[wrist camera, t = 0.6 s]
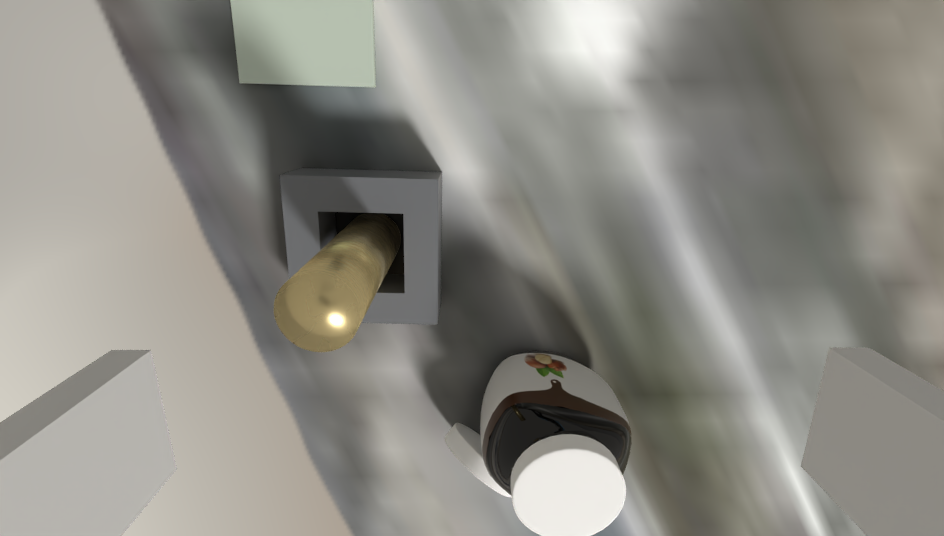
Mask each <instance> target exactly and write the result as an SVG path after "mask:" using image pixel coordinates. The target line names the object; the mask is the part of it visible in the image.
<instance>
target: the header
mask: <svg viewBox="0 0 944 536" xmlns="http://www.w3.org/2000/svg"><path fill="white" fill-rule="evenodd" d="M279 176H280V187H281V198H282V209H283V219H284V230H285V241H286V251H287V262H288V273H289V279H290V278H291V277H292V276H293V275H294V274H295V273H297V272H298V271H299V270H300V269H301V268H302V267H303V266H304V265H305V264H306V263H307V262H308V261H309V260H310V259H312V258H313V257H314V256H315V255H316V254H317V253H318V252H319V251H320V250H321V249H322V248H323V247H324V246H326V245H327V244H328V243H329V242H330V241H331V240H332V239H333V238H334V237H335V236H336V219H335V212H357V213H394V214H403V222H404V274H386V275H385V277H384V279H383V281H382V283H381V285H380V287H379V289H378V291H377V293H376V295H375V297H374V299H373V301H372V303H371V305H370V307H369V308H368V310H367V312H366V314H365V316H364V318H363V320H362V322H361V323H392V324H433V325H438V319H439V312H440V306H441V241H442V172H428V171H392V170H356V169H320V168H299V169H296V170H293V171H290V172H287V173H284V174H281V175H279Z"/></svg>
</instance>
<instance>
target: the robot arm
mask: <svg viewBox="0 0 944 536" xmlns="http://www.w3.org/2000/svg"><path fill="white" fill-rule="evenodd" d="M801 467H802V468H803V469H804V470H805V471H806V472H807V473H808V474H809V475H810V476H811V477H812V478H813V480H814V481H815V482H816V483H817V484H818V485H819V486H820V487H821V488H822V489H823V490H824V491H825V492H826V493H827V494H828V495H829V496H830V497H831V499H832V500H833V501H834V502H835V503H836V504H837V505H838V506H839V507H840V508H841V509H842V510H843V511H844V512H845V513H846V514H847V515H848V516H849V517H850V519H851V520H852V521H853V522H854V523H855V524H856V525H857V526H858V527H859V528H860V529H861V530H862V531H863V532H864V533H865V534H866V535H867V536H944V391H943V390H941V389H939V388H938V387H936V386H934V385H932V384H931V383H929V382H927V381H925V380H924V379H922V378H920V377H919V376H917V375H915V374H913V373H912V372H910V371H908V370H906V369H905V368H903V367H901V366H900V365H898V364H896V363H894V362H893V361H891V360H889V359H887V358H886V357H884V356H882V355H881V354H879V353H877V352H875V351H874V350H872V349H870V348H829V350H828V355H827V359H826V363H825V367H824V371H823V376H822V380H821V384H820V388H819V392H818V397H817V401H816V405H815V409H814V413H813V418H812V422H811V426H810V430H809V434H808V438H807V443H806V447H805V451H804V455H803V459H802V464H801ZM176 469H177V467H176V463H175V458H174V453H173V448H172V444H171V440H170V435H169V430H168V425H167V421H166V416H165V412H164V407H163V403H162V398H161V393H160V389H159V385H158V380H157V375H156V370H155V366H154V361H153V357H152V352H151V350H111V351H110V352H108V353H106V354H105V355H103V356H102V357H100V358H99V359H97V360H96V361H94V362H92V363H91V364H89V365H88V366H86V367H85V368H83V369H82V370H80V371H79V372H77V373H76V374H74V375H72V376H71V377H69V378H68V379H66V380H65V381H63V382H62V383H60V384H59V385H57V386H56V387H54V388H52V389H51V390H49V391H48V392H46V393H45V394H43V395H42V396H40V397H39V398H37V399H36V400H34V401H33V402H31V403H29V404H28V405H26V406H25V407H23V408H22V409H20V410H19V411H17V412H16V413H14V414H13V415H11V416H9V417H8V418H7V419H5V420H3V421H2V422H0V536H122V535H123V533H124V532H125V531H126V530H127V528H128V527H129V526H130V525H131V524H132V523H133V521H134V520H135V519H136V517H137V516H138V515H139V514H140V513H141V512H142V510H143V509H144V508H145V507H146V506H147V504H148V503H149V502H150V501H151V500H152V498H153V497H154V496H155V495H156V493H157V492H158V491H159V490H160V489H161V487H162V486H163V485H164V484H165V483H166V482H167V480H168V479H169V478H170V477H171V476H172V474H173V473H174V472H175V471H176Z"/></svg>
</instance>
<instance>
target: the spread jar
mask: <svg viewBox="0 0 944 536" xmlns="http://www.w3.org/2000/svg"><path fill="white" fill-rule="evenodd" d="M445 442H446V444H447V446H448V447H449V449H450V450H451V452H452V453H453V454H454V455H455V457H456V458H457V459H458V460H459V461H460V462H461V463H462V464H463V465H464V466H465V467H466V468H467V469H468V470H469V471H470V472H471V473H472V474H474V475H475V476H476V477H477V478H478V479H479V480H481V481H482V482H483V483H485V484H486V485H487V486H489V487H490V488H492V489H493V490H495V491H496V492H498V493H500V494H502V495H504V496H507V497H512V503H513V507H514V510H515V512H516V514H517V516H518V518H519V519H520V520H521V521H522V523H523V524H524V525H525V526H526V527H528V528H529V529H530V530H532V531H533V532H535V533H537V534H539V535H541V536H590V535H593V534H595V533H597V532H599V531H601V530H603V529H604V528H605V527H607V526H608V525H609V524H611V522H612V521H613V520H614V519H615V518H616V517H617V516H618V514H619V513H620V511H621V509H622V507H623V504H624V501H625V497H626V486H625V480H624V478H623V474H624V471H625V468H626V465H627V462H628V458H629V455H630V450H631V430H630V426H629V422H628V420H627V417H626V415H625V413H624V411H623V409H622V407H621V405H620V403H619V401H618V399H617V397H616V396H615V394H614V392H613V390H612V389H611V387H610V386H609V385H608V384H607V383H606V382H605V381H604V380H603V379H602V378H601V376H599V375H598V374H597V373H595V372H594V371H592V370H591V369H589V368H588V367H586V366H585V365H583V364H581V363H580V362H578V361H576V360H574V359H571V358H569V357H567V356H564V355H562V354H558V353H554V352H548V351H529V352H522V353H517V354H514V355H512V356H510V357H508V358H506V359H505V360H503V361H502V362H501V363H500V364H499V366H498V367H497V368H496V370H495V371H494V373H493V375H492V377H491V379H490V381H489V383H488V386H487V388H486V391H485V394H484V398H483V403H482V409H481V420H480V435H479V434H478V433H477V432H475V431H474V430H472V429H471V428H469V427H467V426H465V425H463V424H461V423H455V424H454V426H453V427H452V428H451V429H450V431H449V432H448V433H447V435H446V436H445Z"/></svg>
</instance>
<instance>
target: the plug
mask: <svg viewBox="0 0 944 536" xmlns="http://www.w3.org/2000/svg"><path fill="white" fill-rule="evenodd" d="M400 244H401V235H400V231H399V228H398V227H397V225H396V223H395V222H394V221H393V220H392V219H391V218H390V217H388V216H386V215H384V214H382V213H362V214H360V215H359V216H357V217H356V218H355V219H353V220H352V221H351V222H350V223H349V224H348V225H347V226H346V227H345V228H344V229H343V230H342V231H341V232H339V233H338V234H337V235H336V236H335V237H334V238H333V239H332V240H331V241H330V242H329V243H328V244H327V245H326V246H324V247H323V248H322V249H321V250H320V251H319V252H318V253H317V254H316V255H315V256H314V257H313V258H312V259H310V260H309V261H308V262H307V263H306V264H305V265H304V266H303V267H302V268H301V269H300V270H299V271H298V272H297V273H295V274H294V275H293V276H292V277H291V278H290V279H289V280H288V281H287V282H286V283H285V284H284V285H283V286H282V287H281V288H280V290H279V291H278V293H277V295H276V298H275V302H274V315H275V320H276V323H277V325H278V327H279V329H280V330H281V332H282V333H283V334H284V336H285V337H286V338H287V339H288V340H290V341H291V342H292V343H293V344H295V345H297V346H298V347H301V348H303V349H306V350H309V351H314V352H328V351H333V350H336V349H339V348H341V347H342V346H344V345H346V344H347V343H348V342H349V341H350V340H351V339H352V338H353V337H354V335H355V334H356V332H357V330H358V328H359V326H360V324H361V322H362V320H363V318H364V316H365V314H366V312H367V310H368V308H369V307H370V305H371V303H372V301H373V299H374V297H375V295H376V293H377V291H378V289H379V287H380V285H381V283H382V281H383V279H384V277H385V275H386V274H387V272H388V270H389V268H390V266H391V264H392V262H393V260H394V258H395V256H396V254H397V252H398V250H399V248H400Z"/></svg>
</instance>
